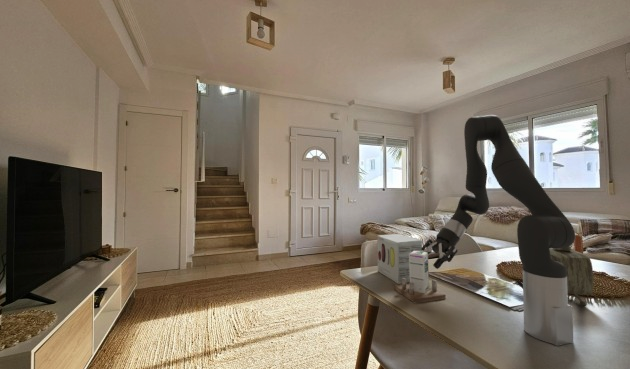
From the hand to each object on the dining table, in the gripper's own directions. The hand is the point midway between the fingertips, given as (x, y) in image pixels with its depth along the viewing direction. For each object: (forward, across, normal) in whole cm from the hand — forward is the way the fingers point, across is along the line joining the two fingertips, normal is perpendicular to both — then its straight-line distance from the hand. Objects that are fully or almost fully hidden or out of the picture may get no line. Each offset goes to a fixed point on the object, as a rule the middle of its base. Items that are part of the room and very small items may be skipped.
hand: (427, 264), depth 99 cm
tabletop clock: (-22, +18, +38) cm, 48 cm away
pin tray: (+11, 0, +5) cm, 12 cm away
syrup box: (+10, 0, +4) cm, 11 cm away
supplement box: (+8, -20, +8) cm, 23 cm away
